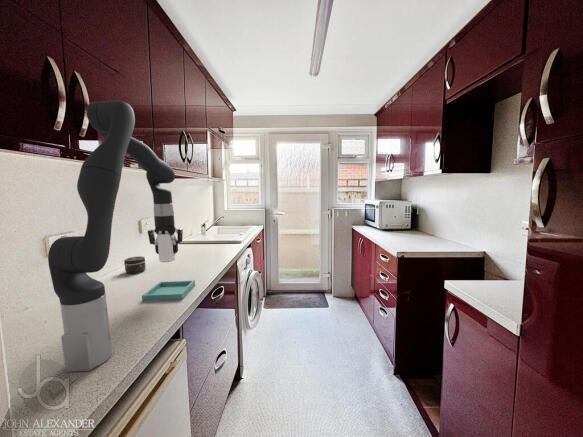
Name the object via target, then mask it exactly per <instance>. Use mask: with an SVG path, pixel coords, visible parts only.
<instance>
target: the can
mask: <svg viewBox="0 0 583 437" xmlns="http://www.w3.org/2000/svg"><path fill="white" fill-rule="evenodd" d="M174 235H175V234H174ZM174 235H171V236H172V237H174ZM157 236H158V238H157V237H156V238H157V239H158V252H159V254H158V261H159V262H160V263H170V262H174V261H176V259H177V257H176V254H177V253H175V254H174V253H173V245H174V244H173V243H172V240H171V238H170V236H169V234H159V235H157Z"/></svg>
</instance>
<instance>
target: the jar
mask: <svg viewBox="0 0 583 437" xmlns="http://www.w3.org/2000/svg"><path fill="white" fill-rule="evenodd" d="M123 262H124V264H123V265H124V270H125V273H126V274H127V275H137V274H140V273H144V272H145V270H146V258H145V256H142V255H140V256H139V255H137V256H133V257H128V258H125V259H124V261H123Z"/></svg>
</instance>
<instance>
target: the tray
mask: <svg viewBox="0 0 583 437" xmlns="http://www.w3.org/2000/svg"><path fill="white" fill-rule="evenodd" d="M195 286H196V280H192V279H191V280H169V281H168V280H167V281H159V282H158V283H157V284H155V285H154V286H152V287H151V288H150V289H149V290H147V291H146V292H144V293H143V294H142V295H141V300H142V301H141V302H158V301H160V302H161V301H163V302H164V301H183V300H184V298H186V296H187V295H188V294H189V293H190V292H191V291H192V289H193V288H194V287H195Z"/></svg>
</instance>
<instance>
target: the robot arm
mask: <svg viewBox="0 0 583 437" xmlns="http://www.w3.org/2000/svg"><path fill="white" fill-rule="evenodd" d="M85 113H86V118H87V120H88V122H89V124H90V125H91V127H92V128H93V129H95V131H96V132H98V133H99V134H100V135H101V136H103V137H104V139H103V141H102V142H101V143H100V144H99V145H98V146H97V147H96V148H95V149H94V150H93V151H92V152H91V153H90V154H89V155H88V156H87V157H86V158H85V160H84V161H83V163H82V165H81V167H80V171H79V175H78V179H77V182H76V183H77V184H76V189H77V192H78V196H79V198H80V200H81V202H82V204H83V206H84V209H85V211H86V213H87V214H86V216H87V223H86V228H85V231H84V232H85V233H84V235H81V236H80V235H79V236H78V235H77V236H74V235H73V236H64V237H60V238H57V239H56V240H54V241H53V242H52V244H51V245H50V247H49V249H48V252H47V253H48V254H47V262H48V268H49V272H50V278H51V283H52V288H53V291H54V293H55V295H56V296H57V297H58V299H59V305H60V312H61V318H62V327H63V334H62V335H61V338H60V339H61V346H62V347H61V348H62V352H63V360H64V368H65V372H66V373H68V372H69V373H70V372H88V371H89V372H90V371H92V370H93V369H94V368H96V367H99V366H100V365H103V363H105V362H106V361H107V360H109V359H110V358H111V357H112V355H113V349H112V348H113V347H112V340H111V331H110V323H109V314H108V304H107V294H106V289H105V288H106V287H105V284H104V283H103V281H100V280H98V279H95V278H92V276H89V275H88V274H89V273H90V274H91V273H97V272H99V271H101V270H102V269H103V268H104V267H105V265H106V263H107V261H108V260H109V259H108V258H109V254H110V248H111V240H112V238H111V236H112V227H113V219H114V218H113V217H114V211H115V206H116V200H117V197H118V196H117V195H118V192H119V189H120V188H119V187H120V183H121V178H122V171H123V166H124V162H125V158H126V154H127V155H129V157H131V158H132V159H133V161H135V162H136V164H137V165H139V166H140V167H141V169H142V170H143V171H145V172H146V173H145V175H146V181H147V183H148V185H149V188H150V190H151V193H152V198H153V218H154V219H153V220H154V227H155V228H154V229H148V230H147V236H148V240H149V244H150V245H154V250H155V253H156V254H157V255H159V252H158V239H157V238H158V235H159V234H169V236H170V238H171V240H172V243H173V244H174V245H173V253H174V254H177V253H178V251H179V244H181V243H183V235H184V234H183V228H176V226H175V225H176V224H175V212H174V206H173V196H172V191H171V190H170V189H166V188H163V187H162V184H172V183H173V182H174V181H175V179H176V174H175V171H174V169H173V167H172V166H171V165H170V164H168V163H167V162H165V161H163V159H161V158H159V157H158V155H157V154H156V153H155V152H154V151H153V150H152V149H151V148H150V147H149V146H148V145H147V144H145V143H144V142H142V141H141V140H138V139H137V138H135V137H133V132H134V129H135V124H136V117H135V112H134V109H133V107H132V106H131V105H130V104H129V103H127V102H126V101H123V100H100V101H93V102H90V103H89V104H87V106H86V111H85ZM175 233H176V234H177V237H176V235H175ZM155 234H156V235H157V236H156V237H155ZM171 235H174V237H172V236H171Z"/></svg>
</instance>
